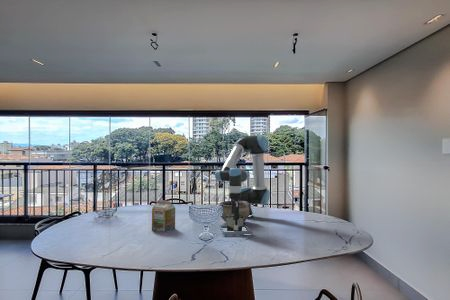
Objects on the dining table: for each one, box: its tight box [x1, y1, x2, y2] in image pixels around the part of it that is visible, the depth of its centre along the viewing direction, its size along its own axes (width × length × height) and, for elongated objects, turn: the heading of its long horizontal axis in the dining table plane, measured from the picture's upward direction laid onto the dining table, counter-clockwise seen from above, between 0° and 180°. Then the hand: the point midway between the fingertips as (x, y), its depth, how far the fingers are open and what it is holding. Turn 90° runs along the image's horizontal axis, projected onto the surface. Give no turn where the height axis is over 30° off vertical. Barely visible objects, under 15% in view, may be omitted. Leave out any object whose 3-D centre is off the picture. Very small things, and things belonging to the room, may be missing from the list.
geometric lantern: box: [92, 171, 121, 219], centre depth 230 cm, size 16×16×35 cm
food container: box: [225, 214, 244, 231], centre depth 186 cm, size 12×6×10 cm, turn 85°
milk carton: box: [151, 199, 176, 234], centre depth 190 cm, size 11×11×19 cm
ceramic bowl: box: [218, 200, 249, 223], centre depth 210 cm, size 22×22×15 cm
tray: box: [218, 224, 253, 236], centre depth 185 cm, size 18×18×2 cm
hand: (234, 228), depth 185 cm, fingers closed on food container, 7 cm apart
